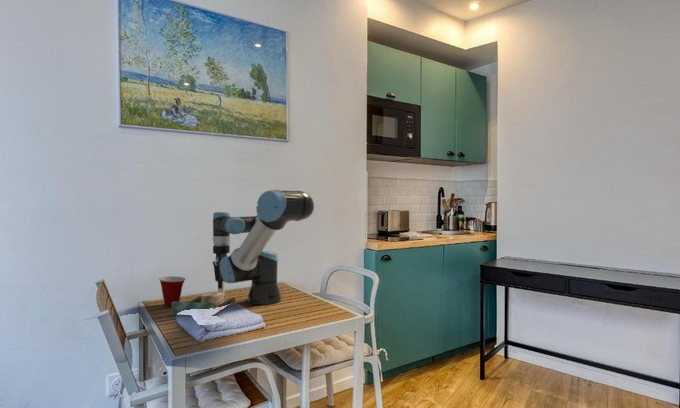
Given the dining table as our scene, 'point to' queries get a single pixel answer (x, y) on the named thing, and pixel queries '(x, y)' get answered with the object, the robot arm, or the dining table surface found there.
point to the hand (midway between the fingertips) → (221, 294)
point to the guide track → (196, 305)
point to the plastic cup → (171, 289)
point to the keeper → (213, 298)
